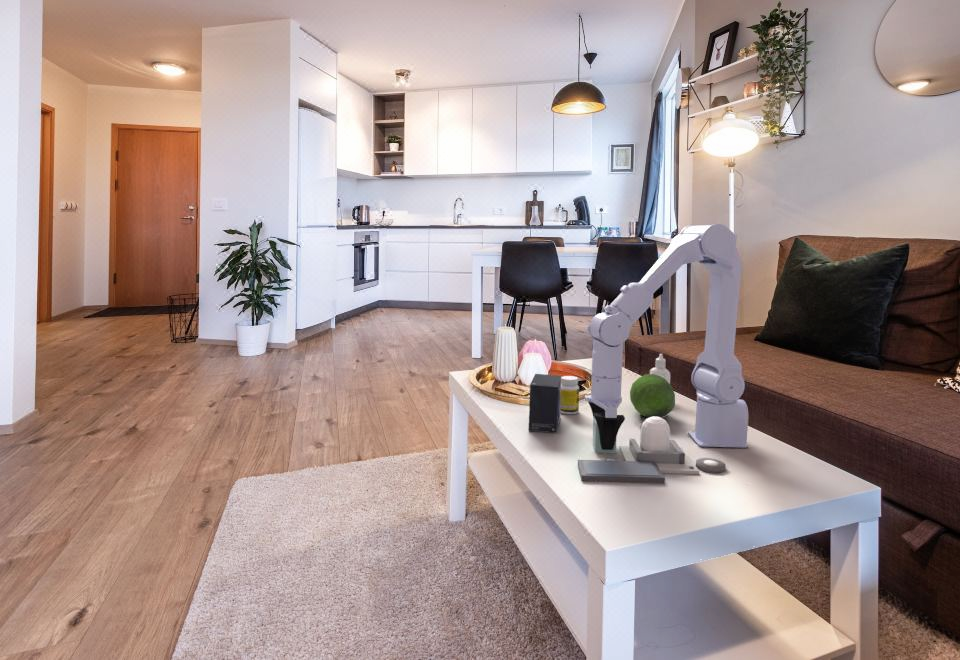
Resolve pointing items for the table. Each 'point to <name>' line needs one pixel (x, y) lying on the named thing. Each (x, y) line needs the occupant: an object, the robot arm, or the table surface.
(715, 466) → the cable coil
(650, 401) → the fruit
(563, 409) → the supplement bottle
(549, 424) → the small box
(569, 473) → the table surface
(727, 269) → the robot arm
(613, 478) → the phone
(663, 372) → the eye dropper bottle
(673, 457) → the grey piece
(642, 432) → the capsule
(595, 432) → the plug block
